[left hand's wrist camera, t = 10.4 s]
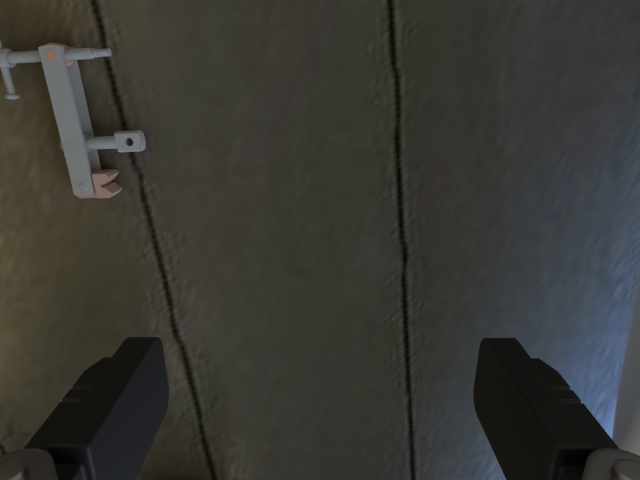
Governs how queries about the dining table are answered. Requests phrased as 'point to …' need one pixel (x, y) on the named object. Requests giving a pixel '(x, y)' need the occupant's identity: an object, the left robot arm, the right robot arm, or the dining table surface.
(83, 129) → the clamp
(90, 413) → the left robot arm
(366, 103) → the dining table surface
